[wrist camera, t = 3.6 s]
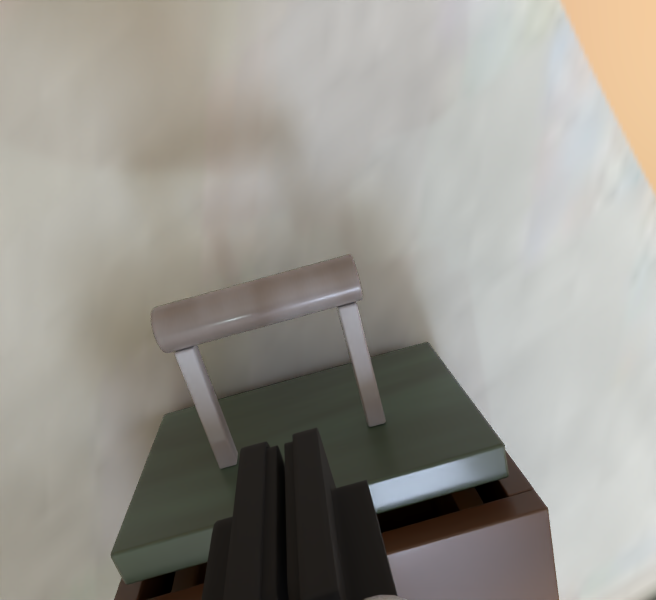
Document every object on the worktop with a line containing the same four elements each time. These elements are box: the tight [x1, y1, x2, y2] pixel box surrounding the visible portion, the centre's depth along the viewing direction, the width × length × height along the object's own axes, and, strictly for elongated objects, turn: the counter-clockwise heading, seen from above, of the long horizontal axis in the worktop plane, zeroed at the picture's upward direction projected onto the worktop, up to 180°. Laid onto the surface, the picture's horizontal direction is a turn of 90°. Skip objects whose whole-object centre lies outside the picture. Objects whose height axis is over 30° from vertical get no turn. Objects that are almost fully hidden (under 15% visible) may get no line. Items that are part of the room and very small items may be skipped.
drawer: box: [111, 254, 509, 592], centre depth 18 cm, size 19×11×7 cm, turn 14°
